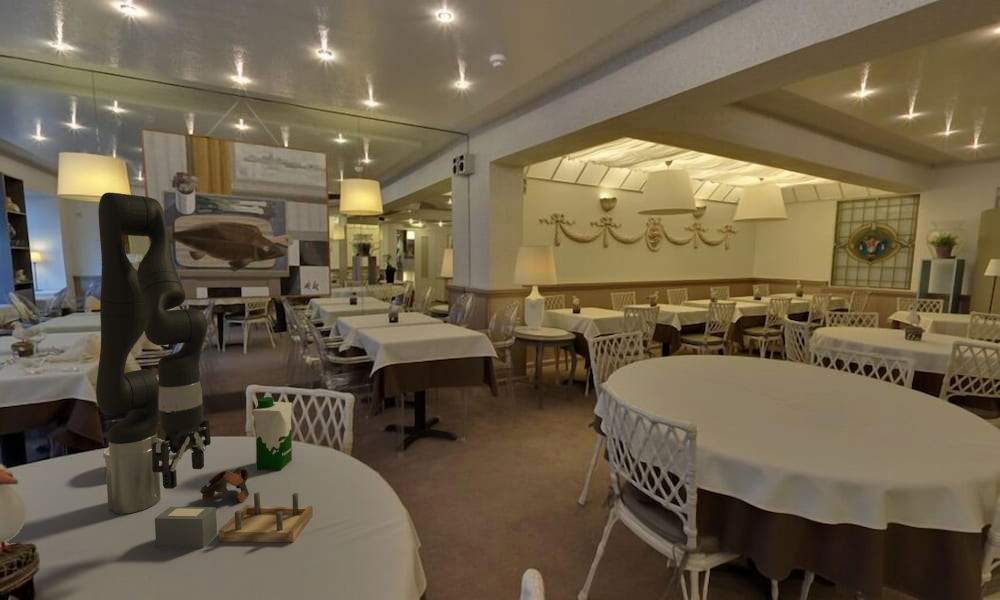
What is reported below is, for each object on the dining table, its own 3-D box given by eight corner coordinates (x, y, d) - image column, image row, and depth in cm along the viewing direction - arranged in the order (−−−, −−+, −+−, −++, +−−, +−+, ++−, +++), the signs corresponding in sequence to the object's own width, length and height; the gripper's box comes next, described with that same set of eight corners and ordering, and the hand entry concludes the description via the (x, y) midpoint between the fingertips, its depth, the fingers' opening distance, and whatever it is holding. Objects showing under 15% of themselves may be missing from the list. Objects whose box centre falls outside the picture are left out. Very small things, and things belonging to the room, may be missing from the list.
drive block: (156, 547, 95) (154, 517, 94) (171, 534, 99) (170, 506, 98) (203, 548, 95) (202, 518, 94) (216, 535, 99) (215, 506, 99)
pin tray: (219, 541, 97) (218, 514, 96) (245, 514, 107) (244, 490, 106) (293, 542, 97) (292, 516, 96) (312, 516, 107) (312, 492, 106)
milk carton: (267, 458, 137) (265, 394, 135) (296, 458, 137) (295, 395, 135) (251, 471, 128) (248, 403, 127) (282, 472, 128) (280, 404, 126)
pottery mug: (237, 511, 109) (216, 487, 107) (208, 523, 111) (187, 499, 109) (265, 476, 120) (246, 453, 118) (238, 488, 122) (219, 465, 120)
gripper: (186, 393, 101) (190, 462, 103) (135, 415, 87) (140, 495, 88) (219, 394, 101) (222, 463, 103) (174, 415, 87) (178, 495, 89)
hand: (184, 477), depth 96 cm, fingers open, 8 cm apart
